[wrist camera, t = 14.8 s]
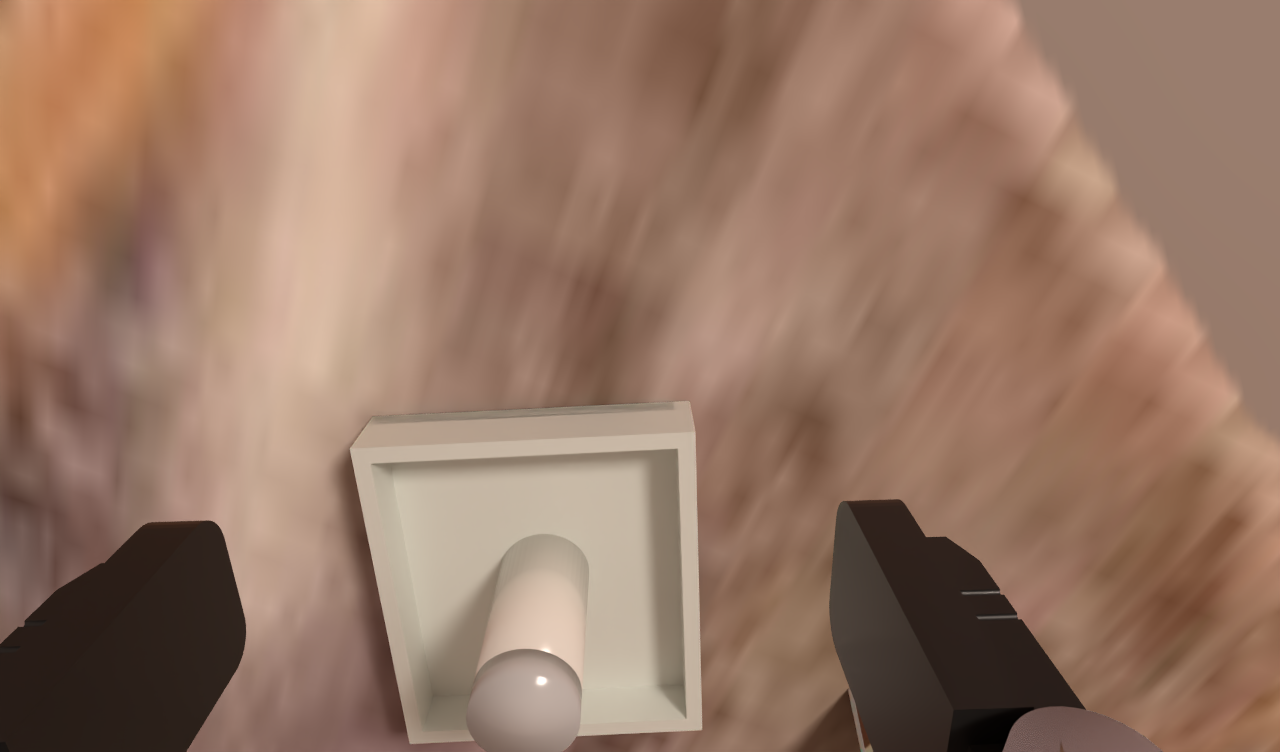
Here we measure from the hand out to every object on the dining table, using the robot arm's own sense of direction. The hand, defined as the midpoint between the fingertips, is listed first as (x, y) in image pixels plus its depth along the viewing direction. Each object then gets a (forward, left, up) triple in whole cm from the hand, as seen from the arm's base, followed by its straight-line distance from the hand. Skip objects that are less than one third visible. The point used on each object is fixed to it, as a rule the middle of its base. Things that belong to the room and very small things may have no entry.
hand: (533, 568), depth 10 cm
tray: (-4, -18, -27) cm, 33 cm away
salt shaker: (-4, -18, -26) cm, 32 cm away
